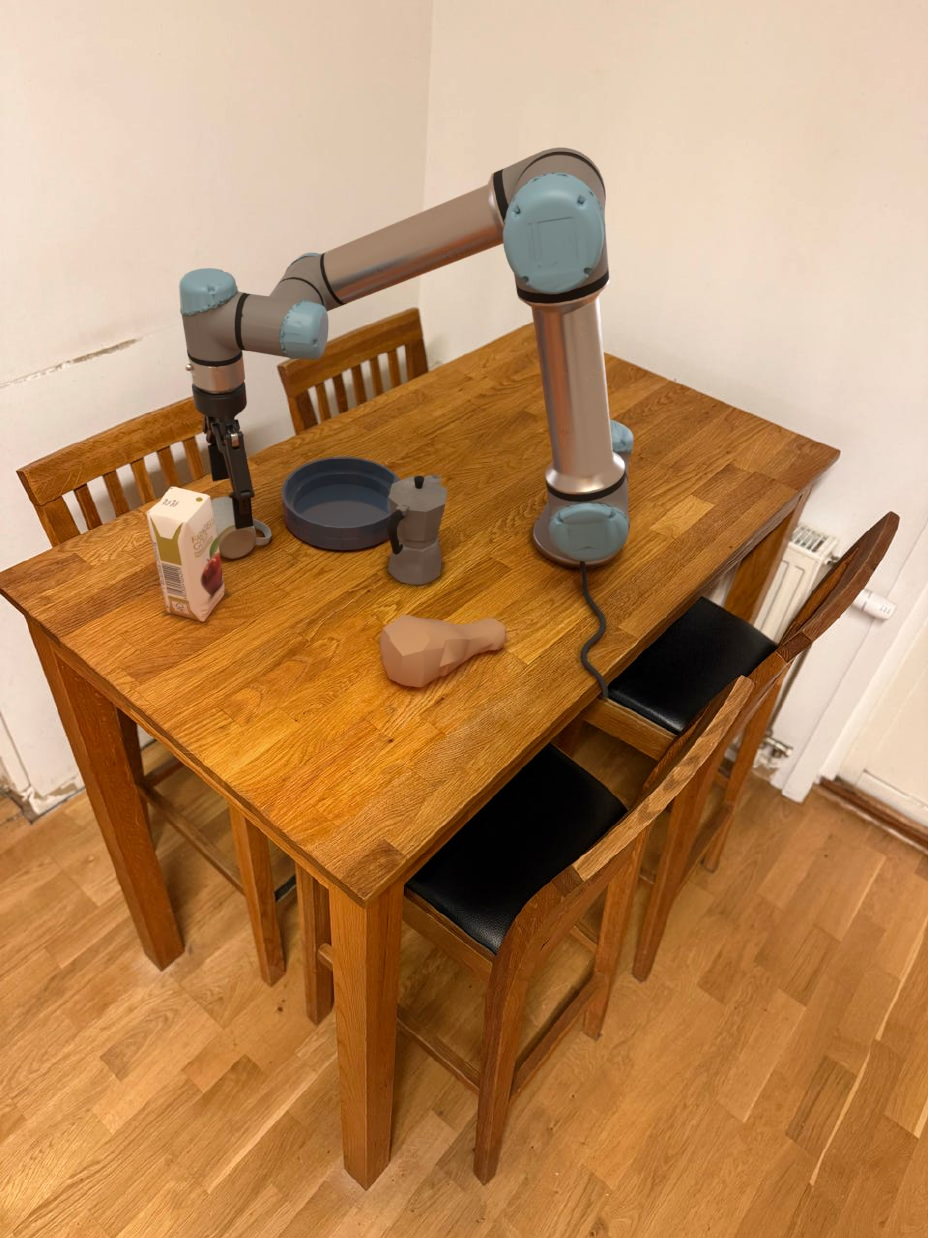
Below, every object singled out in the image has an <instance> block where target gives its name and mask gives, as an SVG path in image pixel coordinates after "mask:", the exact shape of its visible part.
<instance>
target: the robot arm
mask: <svg viewBox="0 0 928 1238" xmlns="http://www.w3.org/2000/svg"><path fill="white" fill-rule="evenodd" d="M606 200H607V194H606V186H605V182H604V177H603V176H602V174H601V172H600V169H599V167H598V166H597V165H596V163H595V162H594V161H593V160H592V159H591V158H589V157H588V156H587V155H585V154H584V153H583V152H581V151H579V150H576V149H573V148H569V147H552V148H548V149H545V150H544V149H543V150H541V151H539V152H537V153H534V154H533V155H530V156H528V157H526V158H523V159H521V160H519V161H517V162H514V163H513V164H511V165H509V166H507V167H504V168H501V169H499V170H497V171H495V172H493V173H491V174H490V177H489V180H488V182H487V184H485V185H483V186H480V187H478V188H476V189H473V190H470V191H468V192H466V193H463V194H461V195H459V196H457V197H454V198H452V199H449V200H447V201H445V202H442V203H440V204H437V205H435V206H433V207H430V208H428V209H425V210H423V211H421V212H418V213H416V214H414V215H411V216H408V217H407V218H403V219H402V220H399V221H396V222H395V223H392V224H389V225H387V226H385V227H382V228H380V229H378V230H375V231H373V232H370V233H368V234H366V235H362V236H360V237H359V238H356V239H353V240H351V241H349V242H347V243H344V244H342V245H340V246H336V247H334V248H332V249H329V250H327V251H326V252H323V253H318V252H306V253H303V254H301V255H299V256H298V257H296V259H295V260H293V261H292V262H291V263H290V264H289V266H287V268H286V270H285V272H284V274H283V276H282V277H281V278H280V280H279V281H278V283H277V284H276V285H275V287H274V289H273V290H272V291H271V292H270V294H269V295H261V294H256V293H255V294H254V293H247V292H244V291H239V290H238V286H237V281H236V279H235V277H234V276H233V274H231V273H230V272H228V271H224V270H223V269H221V268H214V267H213V268H212V267H204V268H197V269H193V270H189V271H188V272H186V273H185V274H184V275H183V276H182V277H181V278H180V279H179V284H178V291H179V304H180V305H179V313H180V315H181V319H182V327H183V333H184V339H185V343H186V344H185V345H186V354H187V359H188V362H189V363H186V364H184V369H185V371H187V372H189V374H190V380H191V391H192V399H193V405H194V408H195V409H196V411H197V412H198V413H200V414H201V415H202V428H201V429H202V433H203V434H204V435H205V441H206V443H207V451H208V458H209V467H210V473H211V480H212V482H213V483H214V482H219V481H224V480H229V482H230V487H231V492H230V493H229V494H228V497H229V498H232V505H233V514H234V523H235V528H236V530H237V529H242V528H247V527H251V526H253V519H254V516H253V507H252V499H253V498H255V491H254V487H253V481H252V478H251V477H252V476H251V473H250V472H251V471H250V467H249V463H248V458H247V453H246V447H245V440H244V432H243V431H242V430H241V426H240V422H239V419H238V418H236V417H237V415H239V414H241V413H242V412H243V411H244V410H245V409H246V407H247V405H248V400H247V399H248V398H247V397H248V396H247V389H246V382H245V380H246V373H245V363H244V353H243V351H244V352H251V353H252V352H253V353H258V354H264V355H271V356H276V357H282V358H288V359H291V360H299V359H300V360H310V361H311V360H312V361H315V360H319V359H320V358H321V357H322V356H323V354H324V353H325V352H326V351H325V350H326V347H327V346H326V345H327V343H328V338H329V314H328V312H330V311H333V310H335V309H338V308H340V307H343V306H346V305H348V304H349V303H352V302H354V301H357V300H360V299H362V298H365V297H369V296H370V295H373V294H375V293H378V292H380V291H383V290H387V289H388V288H389V289H390V288H391V287H394V286H397V285H400V284H402V283H404V282H407V281H409V280H412V279H414V278H417V277H420V276H422V275H425V274H428V273H430V272H432V271H435V270H437V269H441V268H443V267H446V266H448V265H452V264H454V263H457V262H459V261H462V260H464V259H466V258H467V259H468V258H470V257H472V256H475V255H477V254H480V253H482V252H486V251H487V250H490V249H492V248H496V247H498V246H501V245H503V250H504V253H505V254H504V255H505V257H506V260H507V263H508V265H509V267H510V270H511V271H512V274H513V277H514V282H515V289H516V296H517V298H518V299H519V300H520V301H521V302H523V303H524V304H526V305H527V306H529V307H530V309H531V315H532V324H533V330H534V336H535V343H536V350H537V358H538V364H539V371H540V379H541V385H542V391H543V398H544V406H545V412H546V413H545V414H546V419H547V421H546V422H547V427H548V434H549V442H550V447H551V454H552V461H550V463H549V464H548V465H547V467H546V468H545V471H544V478H545V486H546V492H547V499H548V500H547V502H546V504H545V506H544V507H543V509H542V512H541V513H540V514H539V515H538V517H537V518H536V520H535V522H534V524H533V528H532V534H531V535H532V536H531V537H532V543H533V545H534V547H535V549H536V550H537V551H538V553H540V554H541V555H542V556H543V557H544V558H545V559H547V560H549V561H550V562H552V563H554V564H556V565H559V566H562V567H565V568H568V569H569V568H570V569H577V570H580V575H581V586H582V592H583V596H584V598H585V600H586V602H587V603H588V605H589V607H590V608H591V609H592V610H593V611H594V613H595V614H596V615H597V617H598V619H599V624H600V625H599V629H598V631H597V632H596V633H595V634H594V635H593V636H592V637H591V638H590V639H588V640H587V641H586V642H585V644H584V645H583V647H582V648H581V651H580V660H581V663H582V665H583V666H584V668H585V670H587V671H588V672H589V673H590V674H591V675H593V677H594V678H595V679H596V680H597V681H598V683H599V685H600V688H601V694H602V697H603V698H605V699H607V698H609V689H608V685H607V681H606V680H605V678H604V676H603V675H602V674H601V673H600V672H599V671H598V670H597V669H596V668H595V667H594V666H593V665H592V664H591V663H590V662H589V661H588V657H587V656H588V651H589V649H590V648H591V647H592V646H593V645H595V643H597V641H599V640H600V639H601V637H602V636H603V635H604V634H605V632H606V628H607V621H606V618H605V615H604V613H603V612H602V610H601V608H600V607H599V606H598V605H597V603H596V602H595V601H594V599H593V598H592V596H591V594H590V592H589V583H588V575H587V570H591V569H597V568H601V567H603V566H606V565H608V564H609V563H611V562H613V560H615V558H616V557H617V556H618V553H619V551H620V550H621V549H622V548H624V546H625V545H626V543H627V540H628V537H629V533H630V529H631V522H630V518H629V512H630V510H629V506H630V505H629V465H630V460H631V455H632V452H633V451H634V441H635V437H634V434H633V432H632V431H631V429H630V428H628V426H626V425H624V424H623V423H620V422H618V421H617V420H613V419H611V418H610V406H609V394H608V384H607V373H606V363H605V352H604V341H603V331H602V319H601V308H600V307H601V306H600V297H599V296H600V295H601V294H602V292H603V291H604V290H605V289H606V287H607V286H608V285H609V283H610V271H609V270H610V269H609V258H608V245H607V244H608V243H607V232H606V216H605V215H606ZM208 444H209V445H208Z"/></svg>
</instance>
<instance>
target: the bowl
mask: <svg viewBox="0 0 928 1238" xmlns="http://www.w3.org/2000/svg"><path fill="white" fill-rule="evenodd" d="M400 480H401V479H400V477H399V476H398V474H396V473H395V472H394V471H393V470H391V468H388V467H387V466H386V465H384V464H382V463H378V462H377V461H374V460H370V459H366V458H362V457H355V456H329V457H324V458H319V459H315V460H312V461H310V462H307V463H305V464H304V463H303V464H302V465H301V466H299V467H297V468H296V469H294V470H293V471H292V472H290V474H289V475H288V476H287V477H286V478H285V479H284V482H283V484H282V487H281V499H282V512H283V513H282V514H283V522H284V523H285V525H286V527H287V528H288V530H289V531H290V532H291V533H292V534H293V535H294V536H295V537H297V538H298V539H299V540H301V541H303V542H305V543H307V544H309V545H311V546H315V547H318V548H321V549H324V550H325V549H327V550H334V551H335V550H336V551H350V550H351V551H352V550H361V549H365V548H370V547H374V546H376V545H378V544H380V543H383V542H385V541H387V540H389V536H388V533H387V523H388V521H389V518H390V516H391V508H390V501H389V494H390V490H391V486H392V484H393V483H396V482H398V481H400Z"/></svg>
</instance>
